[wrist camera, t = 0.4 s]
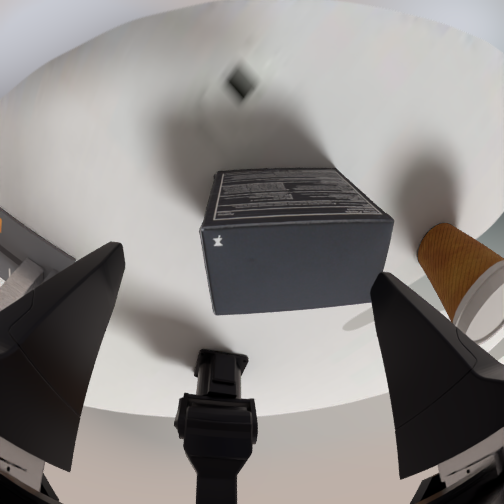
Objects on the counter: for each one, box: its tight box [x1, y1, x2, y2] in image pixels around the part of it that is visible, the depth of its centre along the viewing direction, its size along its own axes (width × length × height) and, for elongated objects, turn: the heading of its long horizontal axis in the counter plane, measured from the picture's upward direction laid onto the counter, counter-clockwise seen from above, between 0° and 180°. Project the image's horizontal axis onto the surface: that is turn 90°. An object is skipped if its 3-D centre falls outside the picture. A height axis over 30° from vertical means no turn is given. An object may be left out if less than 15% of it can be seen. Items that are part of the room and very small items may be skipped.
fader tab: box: [0, 258, 44, 311], centre depth 22 cm, size 3×4×10 cm
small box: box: [199, 168, 394, 315], centre depth 19 cm, size 11×6×10 cm, turn 92°
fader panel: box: [0, 208, 76, 283], centre depth 24 cm, size 20×12×3 cm, turn 56°
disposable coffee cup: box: [418, 223, 504, 345], centre depth 21 cm, size 10×10×12 cm
